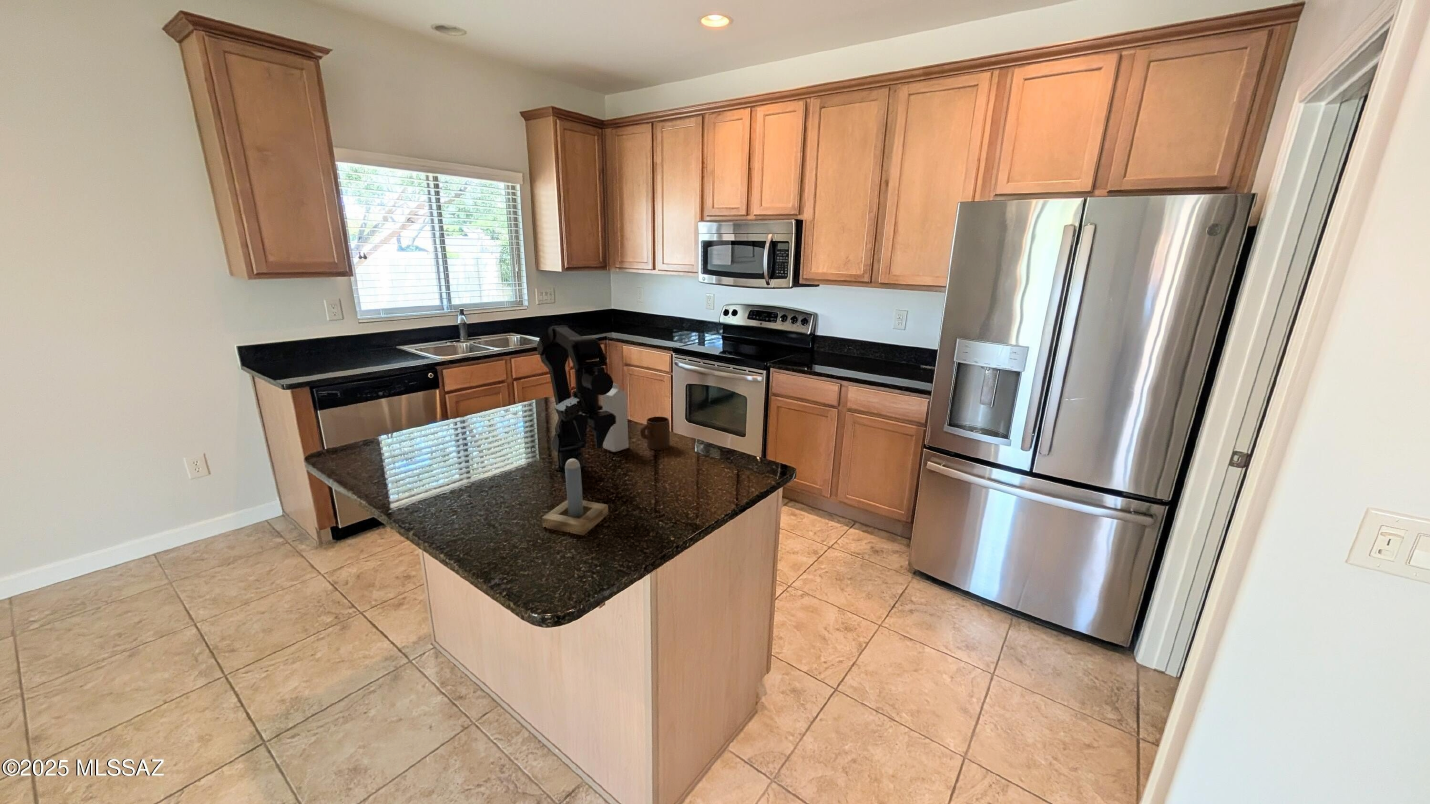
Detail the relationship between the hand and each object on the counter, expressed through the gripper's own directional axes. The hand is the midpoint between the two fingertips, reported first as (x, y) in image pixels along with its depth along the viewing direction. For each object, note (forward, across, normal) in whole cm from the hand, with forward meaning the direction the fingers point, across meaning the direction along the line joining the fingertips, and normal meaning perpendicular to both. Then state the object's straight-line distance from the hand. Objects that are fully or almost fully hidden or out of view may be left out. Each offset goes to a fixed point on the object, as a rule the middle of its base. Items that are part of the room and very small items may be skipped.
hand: (590, 443), depth 141 cm
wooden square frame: (+13, +14, -12) cm, 22 cm away
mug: (+13, -15, +30) cm, 37 cm away
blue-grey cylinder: (+13, +14, -12) cm, 22 cm away
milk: (+13, -24, +21) cm, 34 cm away
